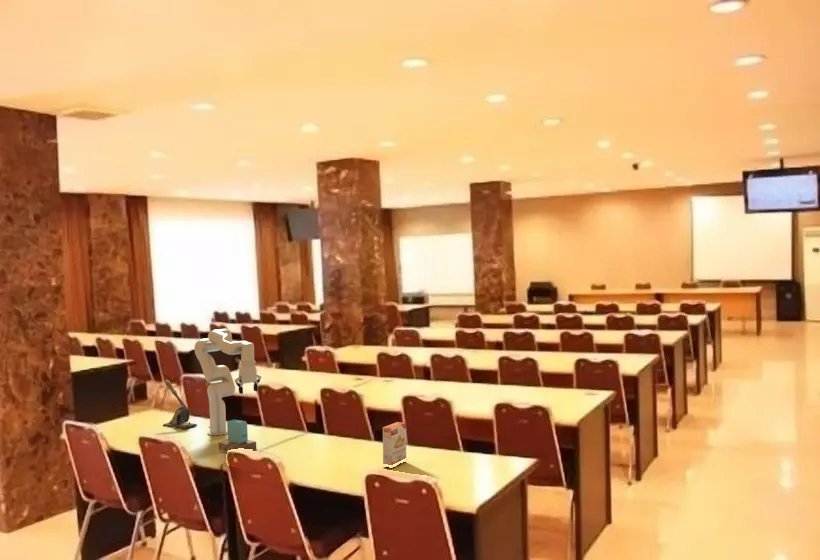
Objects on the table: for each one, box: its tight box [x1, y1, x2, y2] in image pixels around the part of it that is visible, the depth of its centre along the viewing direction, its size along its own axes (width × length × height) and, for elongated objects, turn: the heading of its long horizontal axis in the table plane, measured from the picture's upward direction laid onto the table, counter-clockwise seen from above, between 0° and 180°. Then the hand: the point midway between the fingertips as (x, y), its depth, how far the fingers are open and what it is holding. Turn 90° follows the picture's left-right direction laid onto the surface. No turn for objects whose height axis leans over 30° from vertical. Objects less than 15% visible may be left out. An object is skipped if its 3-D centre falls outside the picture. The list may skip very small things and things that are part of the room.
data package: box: [226, 419, 249, 444], centre depth 406 cm, size 12×4×12 cm, turn 54°
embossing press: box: [162, 379, 198, 430], centre depth 468 cm, size 11×24×30 cm, turn 54°
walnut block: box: [218, 439, 257, 452], centre depth 406 cm, size 16×14×5 cm
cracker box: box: [382, 421, 407, 465], centre depth 369 cm, size 14×6×21 cm, turn 148°
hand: (248, 392), depth 423 cm, fingers open, 9 cm apart
